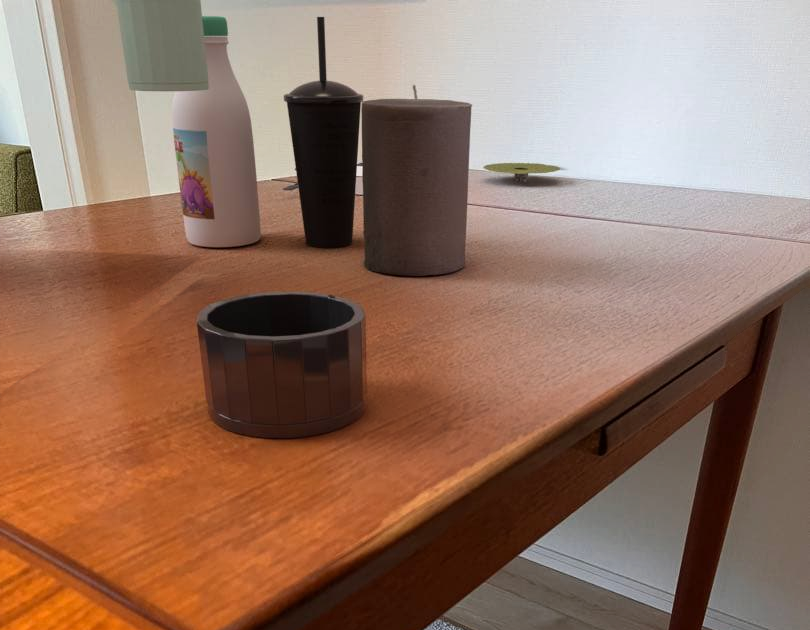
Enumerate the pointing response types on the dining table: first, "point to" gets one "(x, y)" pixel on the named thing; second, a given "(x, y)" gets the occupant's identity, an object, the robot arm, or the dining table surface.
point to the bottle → (163, 44)
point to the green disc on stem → (521, 169)
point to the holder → (284, 363)
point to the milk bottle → (216, 153)
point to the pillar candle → (415, 185)
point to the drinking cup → (325, 153)
